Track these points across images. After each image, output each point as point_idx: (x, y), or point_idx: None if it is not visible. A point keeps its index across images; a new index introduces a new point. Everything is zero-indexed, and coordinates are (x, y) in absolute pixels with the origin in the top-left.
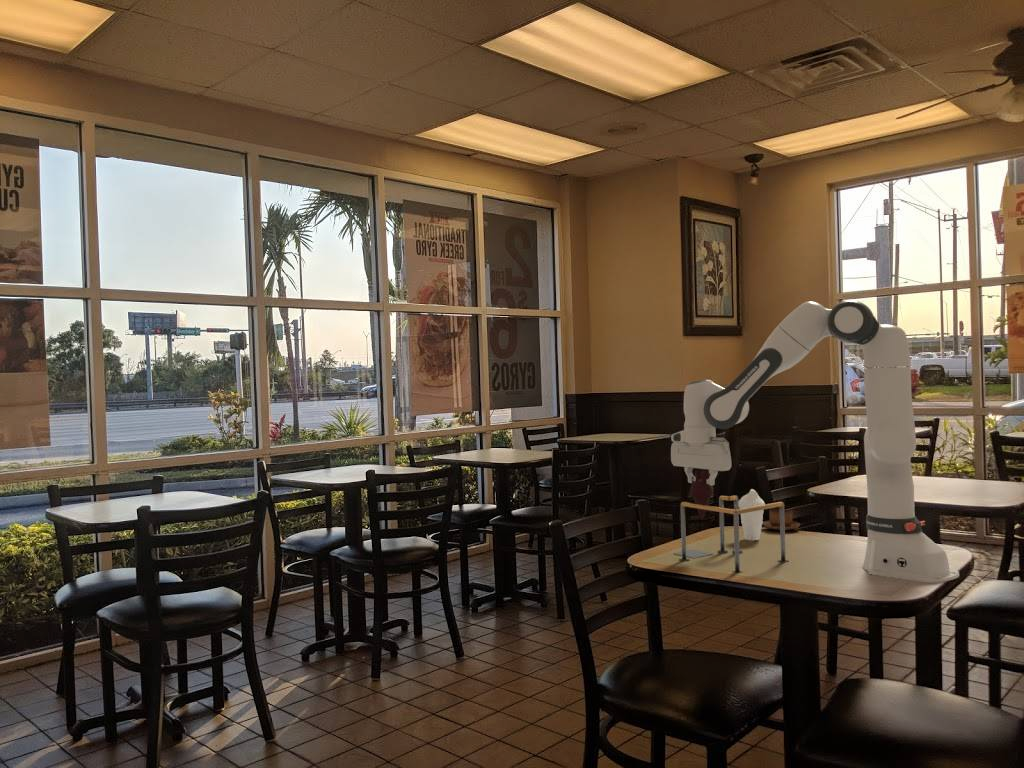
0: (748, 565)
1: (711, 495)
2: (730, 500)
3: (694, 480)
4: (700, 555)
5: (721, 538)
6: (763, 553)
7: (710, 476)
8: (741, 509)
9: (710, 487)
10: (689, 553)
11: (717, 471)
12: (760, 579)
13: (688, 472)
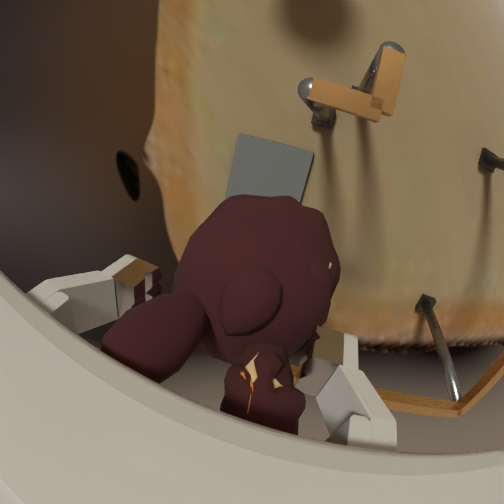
0: (430, 215)
1: (333, 291)
2: (387, 115)
3: (151, 283)
4: (293, 190)
5: (322, 119)
6: (412, 67)
7: (335, 426)
8: (476, 400)
9: (322, 317)
10: (258, 184)
11: (394, 437)
12: (464, 311)
13: (82, 320)
